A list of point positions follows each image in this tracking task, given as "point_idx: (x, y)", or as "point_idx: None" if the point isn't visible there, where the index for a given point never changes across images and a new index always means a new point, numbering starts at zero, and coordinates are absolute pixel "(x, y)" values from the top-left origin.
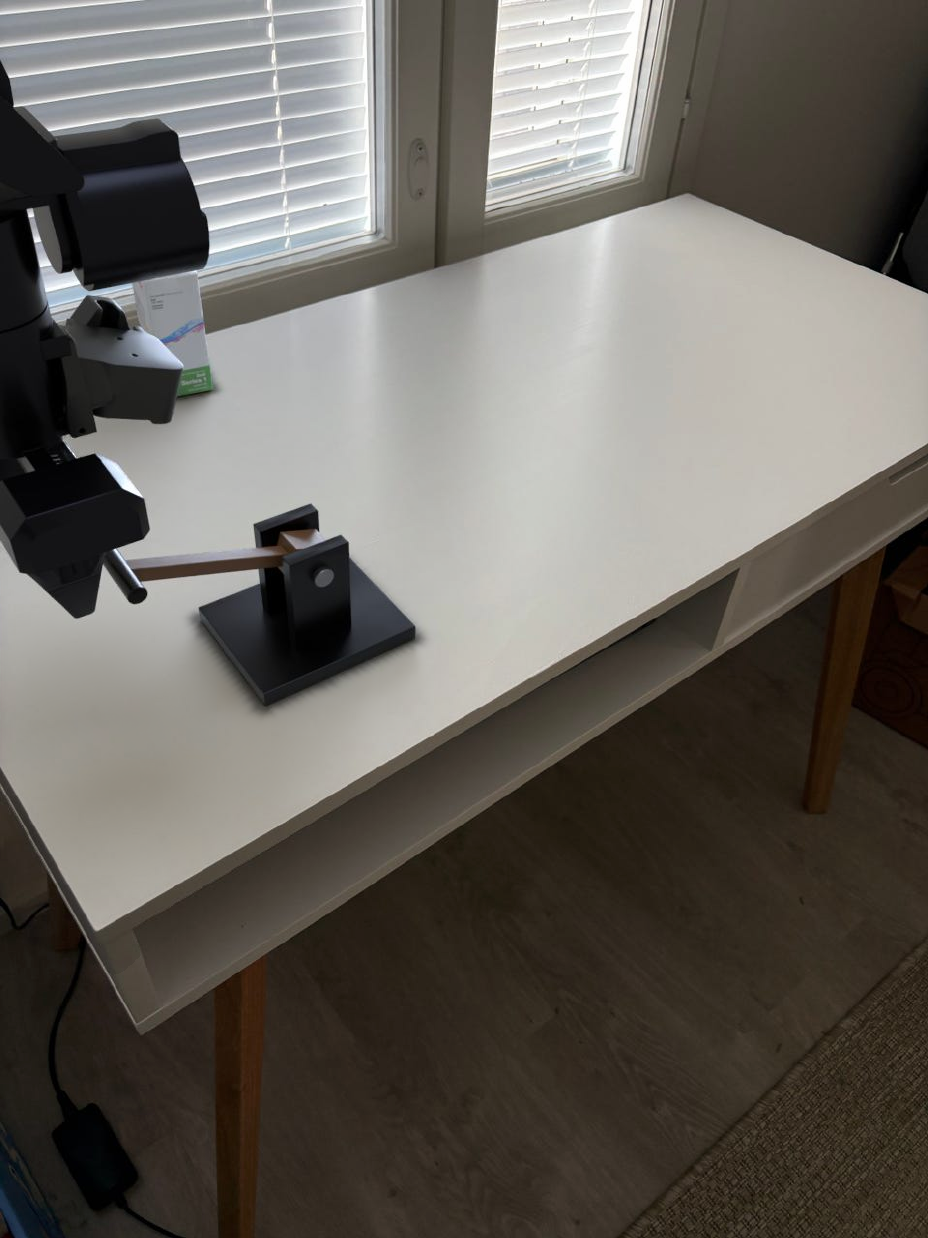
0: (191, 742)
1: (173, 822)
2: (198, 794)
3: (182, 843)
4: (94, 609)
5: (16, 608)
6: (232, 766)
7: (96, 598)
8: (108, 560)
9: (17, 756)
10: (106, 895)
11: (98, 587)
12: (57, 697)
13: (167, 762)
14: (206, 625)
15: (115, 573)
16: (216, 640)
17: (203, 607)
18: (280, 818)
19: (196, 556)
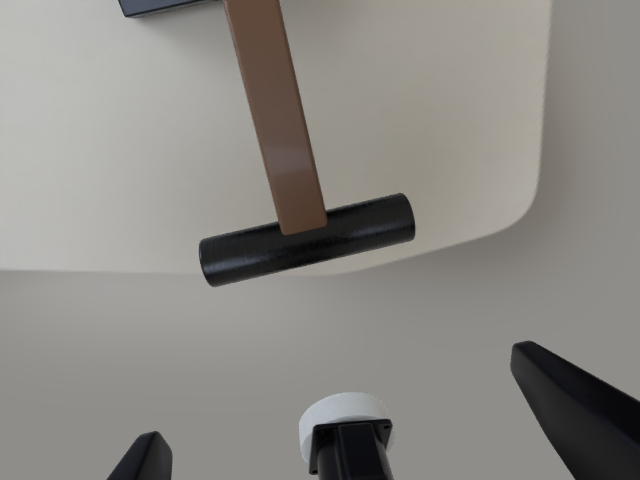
0: (383, 98)
1: (478, 143)
2: (460, 108)
3: (507, 139)
4: (538, 345)
5: (76, 265)
6: (444, 55)
7: (580, 368)
8: (280, 270)
9: (323, 271)
10: (514, 214)
11: (632, 397)
12: None
13: (399, 133)
14: (159, 12)
15: (331, 259)
16: (197, 4)
17: (126, 6)
18: (548, 17)
19: (245, 18)
